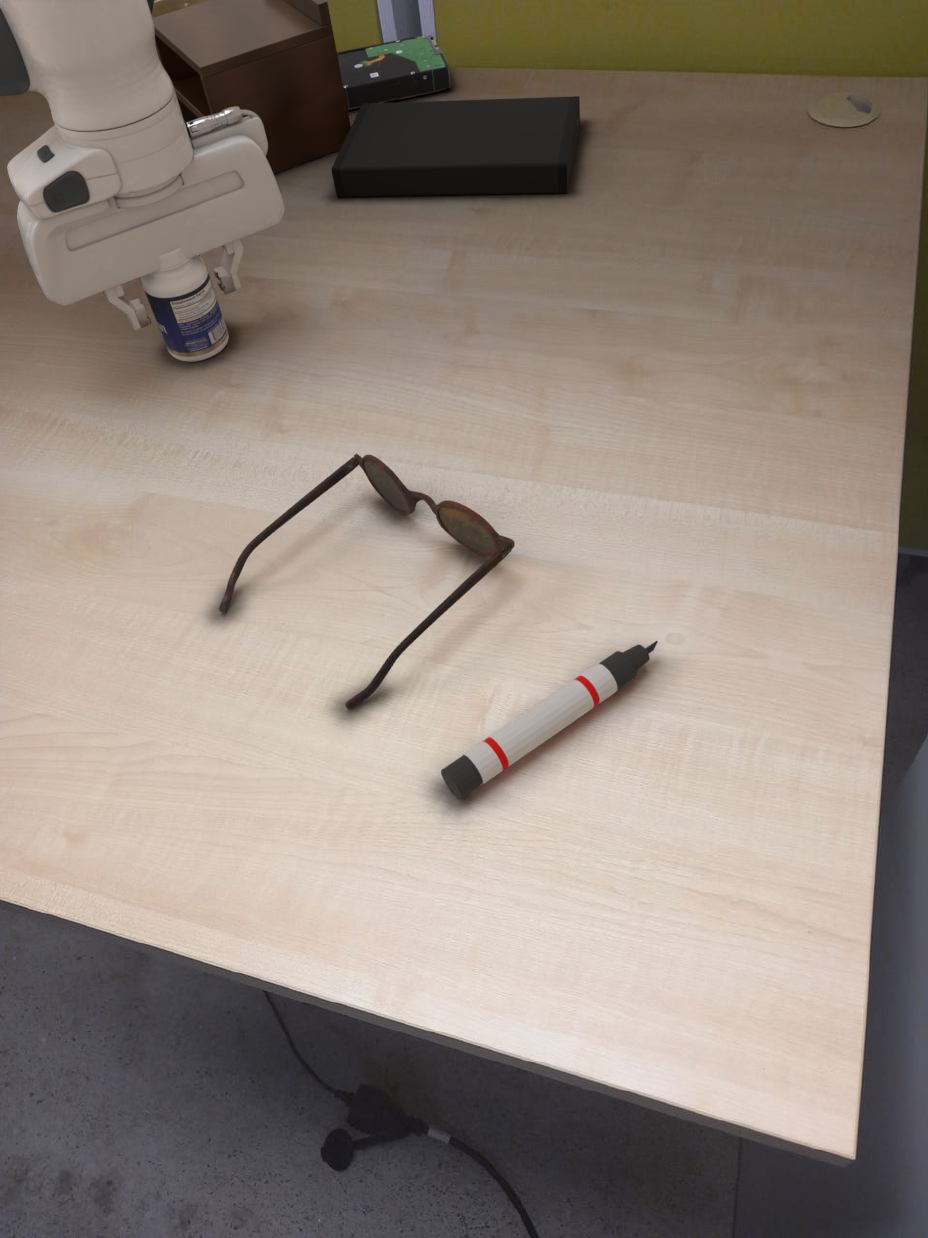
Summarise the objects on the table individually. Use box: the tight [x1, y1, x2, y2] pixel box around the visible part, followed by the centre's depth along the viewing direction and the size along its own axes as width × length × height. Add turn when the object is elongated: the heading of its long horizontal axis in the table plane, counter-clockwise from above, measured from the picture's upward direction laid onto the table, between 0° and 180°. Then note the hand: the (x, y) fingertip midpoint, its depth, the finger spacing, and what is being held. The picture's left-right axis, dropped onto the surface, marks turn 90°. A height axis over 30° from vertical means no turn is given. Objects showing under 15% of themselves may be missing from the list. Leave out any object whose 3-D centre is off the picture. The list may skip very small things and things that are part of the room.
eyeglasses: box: [218, 452, 516, 710], centre depth 66 cm, size 15×15×5 cm
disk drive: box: [337, 34, 452, 111], centre depth 118 cm, size 10×3×15 cm
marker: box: [440, 640, 659, 800], centre depth 59 cm, size 15×2×2 cm, turn 126°
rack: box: [152, 0, 352, 175], centre depth 107 cm, size 14×16×14 cm
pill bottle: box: [140, 248, 229, 363], centre depth 85 cm, size 5×5×10 cm
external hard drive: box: [331, 95, 581, 198], centre depth 104 cm, size 14×23×3 cm, turn 81°
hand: (186, 306), depth 86 cm, fingers open, 7 cm apart
